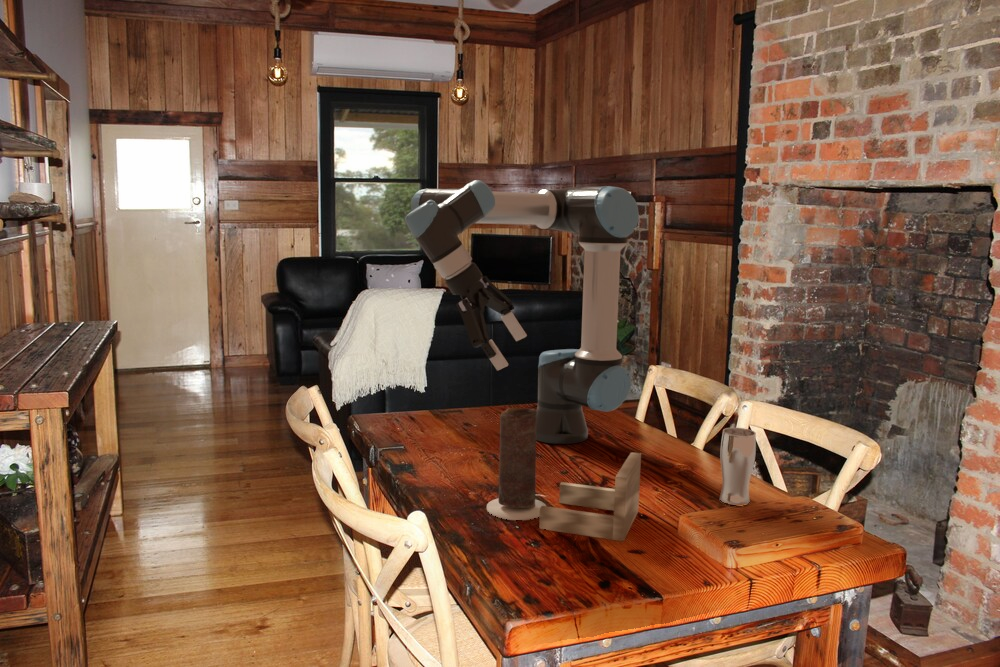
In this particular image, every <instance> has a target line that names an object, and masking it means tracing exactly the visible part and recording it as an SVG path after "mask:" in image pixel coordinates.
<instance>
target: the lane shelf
mask: <svg viewBox="0 0 1000 667" xmlns="http://www.w3.org/2000/svg"><path fill="white" fill-rule="evenodd" d="M641 463H642V453H641V452H640V453H639V452H631V451H630V453H629V455H628V456H627V458H626V459H625V461H624V462H623V464H622V466H621V467H620V468H619V471H618V472H617V473H616V475H615V479H614V480H615V482H614V488H610V487H602V486H595V485H587V484H581V483H579V484H578V483H571V482H564V481H561V482H560V483H559V494H558V495H559V496H558V498H559V499H558V502H559V504H562V505H571V506H577V507H578V506H579V507H584V508H591V509H601V510H607V511H613V515H611V514H603V513H597V512H590V511H582V510H575V509H574V510H573V509H568V508H567V509H566V508H562V507H561V508H560V507H555V506H554V507H553V506H547V505H546V506H541V508H540V517H539V519H538V520H539V524H538V525H539V526H538V527H539V528H538V529H540V530H544V529H546V531H550V532H551V531H552V532H560V533H565V534H572V535H579V536H585V537H591V538H593V537H594V538H598V539H604V540H605V539H606V540H612V541H619V542H625V540H626V537H627V535H628V533H629V532H630V529H631V527H632V525H633V523H634V521H635V519H636V517H637V515H638V513H639V505H640V504H639V503H640V483H641Z"/></svg>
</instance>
